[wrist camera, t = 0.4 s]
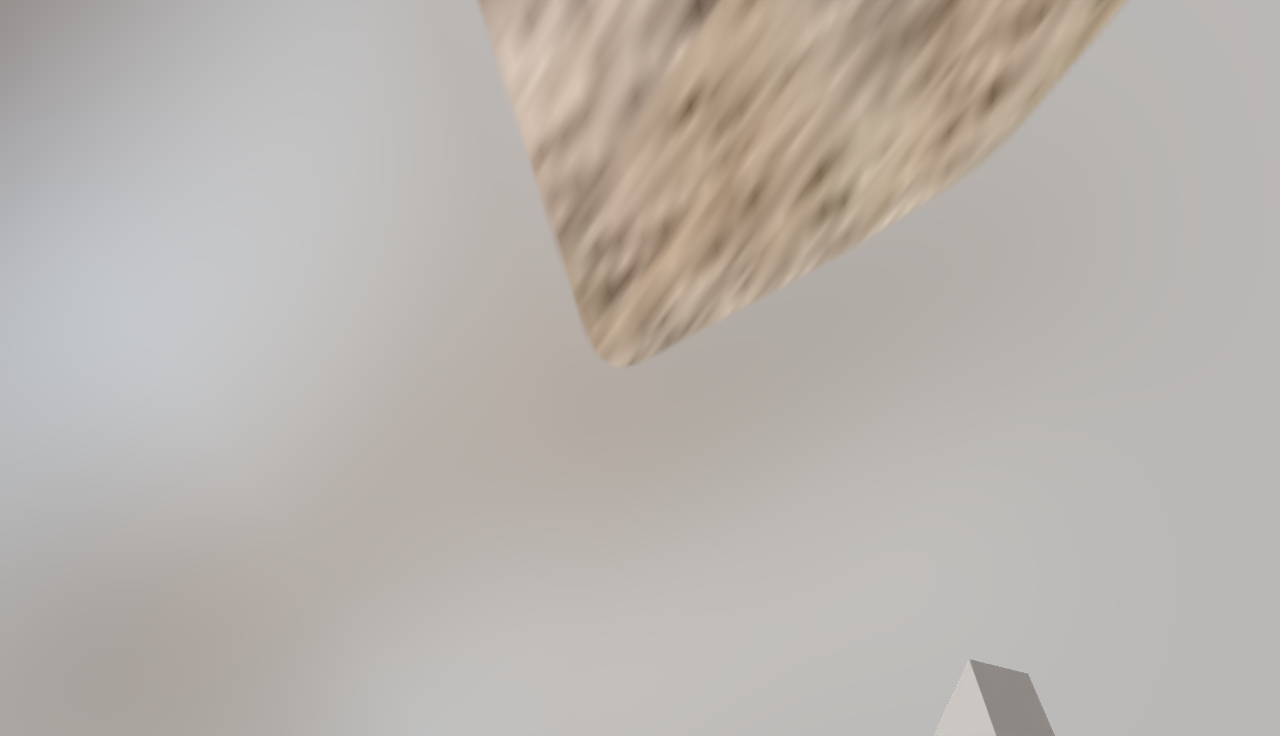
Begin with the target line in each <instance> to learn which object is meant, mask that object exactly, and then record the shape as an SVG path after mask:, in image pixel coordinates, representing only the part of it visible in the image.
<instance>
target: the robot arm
mask: <svg viewBox="0 0 1280 736" xmlns="http://www.w3.org/2000/svg"><path fill="white" fill-rule="evenodd" d="M933 736H1055V735H1054V733H1053V730H1052V728H1051V726H1050V724H1049V722H1048V719H1047V717H1046V714H1045V712H1044V710H1043V707H1042V705H1041V703H1040V701H1039V698H1038V696H1037V694H1036V691H1035V689H1034V687H1033V684H1032V682H1031V680H1030V677H1029V675H1028V674H1026V673H1022V672H1018V671H1014V670H1010V669H1006V668H1002V667H998V666H994V665H990V664H986V663H982V662H978V661H974V660H970V659H969V661H968V663H967V665H966V667H965V670H964V671H963V673H962V676H961V678H960V680H959V682H958V685H957V686H956V688H955V691H954V693H953V695H952V697H951V699H950V702H949V703H948V706H947V708H946V710H945V712H944V714H943V716H942V718H941V721H940V723H939V725H938V727H937V729H936V731H935V733H934V735H933Z"/></svg>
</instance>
